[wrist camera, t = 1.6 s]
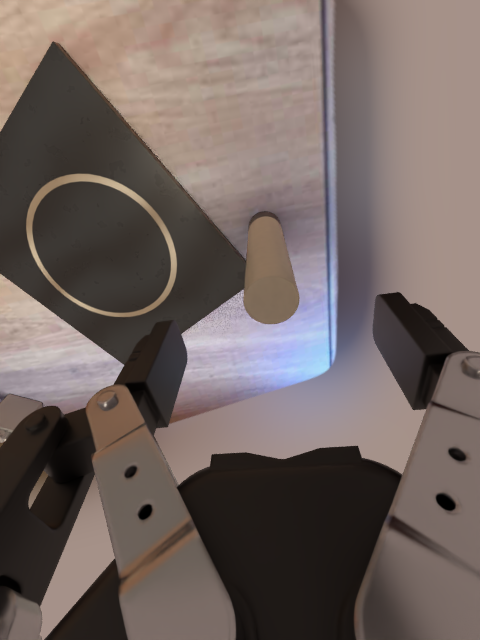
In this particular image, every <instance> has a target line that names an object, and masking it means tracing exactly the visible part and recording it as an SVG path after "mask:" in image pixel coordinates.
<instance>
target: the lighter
mask: <svg viewBox="0 0 480 640" xmlns="http://www.w3.org/2000/svg"><path fill="white" fill-rule="evenodd" d="M40 408H42V403H41V402H39V401H35V400H31V399H27V398H23V397H20V396H16V395H12V394H8V395H7V396H6V397H5V398H4V399H3V401H2V402H1V403H0V442H1V443H3V442H4V441H6V439H7V438H8V437H9V435H10V434H11V433H12V431H13V430H14V429H15V428H16V426H17V425H18V424H19V423H20V422H21V421H22V420H23V419H24V418H25V417H26V416H28V415H29V414H31V413H32V412H34V411H36V410H38V409H40Z"/></svg>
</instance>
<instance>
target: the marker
mask: <svg viewBox="0 0 480 640" xmlns="http://www.w3.org/2000/svg"><path fill="white" fill-rule="evenodd" d="M243 302H244V307H245V309H246V311H247V313H248V314H249V315H250V316H251V317H252V318H253V319H254V320H256V321H258V322H260V323H264V324H277V323H281V322H283V321H285V320H287V319H289V318H290V317H291V316H292V315H293V314H294V313H295V311H296V310H297V308H298V305H299V293H298V289H297V285H296V281H295V277H294V274H293V270H292V266H291V262H290V258H289V254H288V251H287V247H286V243H285V239H284V235H283V232H282V228H281V224H280V221H279V219H278V217H277V216H276V215H275V214H273V213H271V212H266V211H264V212H260V213H257V214H256V215H255V216H253V218H252V219H251V221H250V223H249V230H248V244H247V258H246V272H245V286H244V301H243Z"/></svg>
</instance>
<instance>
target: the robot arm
mask: <svg viewBox="0 0 480 640" xmlns="http://www.w3.org/2000/svg"><path fill="white" fill-rule="evenodd" d="M373 337H374V341H375V344H376V345H377V347H378V349H379V351H380V352H381V354H382V356H383V358H384V360H385V361H386V363H387V365H388V367H389V368H390V370H391V372H392V374H393V376H394V377H395V379H396V381H397V383H398V384H399V386H400V388H401V390H402V391H403V393H404V395H405V397H406V398H407V400H408V402H409V404H410V405H411V407H412V409H413V410H421V409H426V412H425V414H424V417H423V420H422V423H421V425H420V428H419V431H418V434H417V436H416V439H415V442H414V445H413V447H412V450H411V453H410V456H409V458H408V461H407V464H406V467H405V469H404V472H403V475H402V474H401V473H399V472H398V471H396V470H394V469H392V468H390V467H388V466H386V465H383V464H381V463H378V462H376V461H372V460H369V459H365V458H362V457H361V454H360V451H359V448H358V446H347V447H329V448H319V449H316V450H313V451H309V452H306V453H303V454H300V455H297V456H293V457H290V458H287V459H277V458H272V457H266V456H261V455H256V454H251V453H230V454H229V453H228V454H214V455H213V454H212V456H211V464H210V467H207V468H204V469H202V470H200V471H198V472H196V473H194V474H193V475H191V476H190V477H188V478H187V479H186V480H184V481H183V482H182V483H181V484H180V485H179V484H178V482H177V480H176V478H175V477H174V475H173V473H172V470H171V468H170V467H169V465H168V463H167V461H166V459H165V457H164V455H163V453H162V451H161V449H160V447H159V445H158V443H157V441H156V439H155V437H154V433H155V430H156V428H162V427H168V425H169V421H170V418H171V414H172V411H173V408H174V404H175V401H176V398H177V394H178V391H179V388H180V384H181V381H182V377H183V374H184V371H185V367H186V364H187V350H186V347H185V344H184V341H183V338H182V335H181V333H180V330H179V327H178V324H177V322H176V321H175V320H169V321H161V322H156V323H155V325H154V327H153V329H152V331H151V333H150V335H145V336H144V337H143V338H142V339H141V340H140V341H139V342H138V343H137V344H136V346H135V348H134V349H133V351H132V354H131V355H130V356H129V358H128V361H127V362H126V364H125V365H124V367H123V369H122V371H121V372H120V374H119V376H118V378H117V380H116V381H115V383H114V385H111V386H108V387H106V388H104V389H102V390H100V391H99V392H97V393H96V394H95V395H94V396H93V397H92V398H91V399H90V400H89V402H88V403H87V406H86V408H83V409H80V410H77V411H74V412H71V413H68V414H65V415H64V414H63V413H62V411H61V410H60V409H59V408H58V407H56V406H46V407H43V408H40V409H38V410H36V411H34V412H32V413H31V414H29V415H28V416H26V417H25V418H24V419H23V420H22V421H21V422H20V423H19V424H18V425H17V426H16V428H15V429H14V430H13V431H12V433H11V434H10V435H9V437H8V438H7V439H6V441H5V442H4V443H3V445H2V446H1V447H0V640H42V638H41V636H40V631H41V626H42V612H41V609H40V605H41V603H42V600H43V598H44V595H45V593H46V591H47V588H48V586H49V583H50V581H51V579H52V576H53V574H54V571H55V569H56V567H57V564H58V562H59V559H60V557H61V555H62V552H63V550H64V547H65V545H66V543H67V540H68V538H69V535H70V533H71V531H72V528H73V526H74V523H75V521H76V518H77V516H78V514H79V511H80V509H81V506H82V504H83V502H84V499H85V497H86V494H87V492H88V489H89V487H90V485H91V482H92V480H93V477H94V475H95V476H96V480H97V484H98V489H99V493H100V497H101V502H102V505H103V510H104V514H105V518H106V522H107V527H108V531H109V535H110V539H111V543H112V547H113V552H114V556H115V559H114V560H113V561H112V562H111V563H110V564H109V566H108V567H107V568H106V569H105V570H104V571H103V572H102V574H101V575H100V576H99V577H98V578H97V579H96V581H95V582H94V583H93V584H92V585H91V586H90V587H89V589H88V590H87V591H86V592H85V593H84V595H83V596H82V597H81V598H80V599H79V600H78V601H77V603H76V604H75V605H74V606H73V607H72V608H71V609H70V611H69V612H68V613H67V614H66V615H65V616H64V618H63V619H62V620H61V621H60V622H59V623H58V625H57V626H56V627H55V628H54V629H53V630H52V631H51V633H50V634H49V635H48V636H47V637H46V638H45V639H44V640H480V353H478V352H473V351H469V350H468V349H467V348H465V346H464V345H463V344H462V343H461V342H460V341H459V340H458V339H457V338H456V337H455V336H454V335H453V334H452V333H451V332H450V331H449V330H448V329H447V328H446V327H444V325H443V324H442V323H441V322H440V321H439V320H437V317H436V316H435V315H434V314H432V312H431V311H430V310H428V309H426V308H424V307H422V306H420V305H418V304H416V303H414V304H410V303H409V302H408V301H407V300H406V299H405V297H404V296H403V295H402V294H401V293H399V292H397V293H389V294H381V295H377V296H376V299H375V308H374V320H373ZM43 470H44V471H45V472H46V473H47V474H48V477H47V479H46V481H45V483H44V485H43V486H42V488H41V490H40V492H39V494H38V495H37V497H36V499H35V501H34V503H33V504H32V506H31V508H30V510H29V507H28V500H29V496H30V493H31V491H32V489H33V488H34V486H35V484H36V482H37V481H38V479H39V477H40V475H41V474H42V472H43Z"/></svg>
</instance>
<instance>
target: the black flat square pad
mask: <svg viewBox="0 0 480 640" xmlns="http://www.w3.org/2000/svg"><path fill="white" fill-rule="evenodd" d="M245 272H246V261H245V260H244V259H243V258H242V256H241V255H240V254H239V253H238V252H237V251H236V249H235V248H234V247H233V246H232V245H231V244H230V242H229V241H228V240H227V239H226V238H225V237H224V235H223V234H222V233H221V232H220V231H219V230H218V228H217V227H216V226H215V225H214V224H213V223H212V221H211V220H210V219H209V218H208V217H207V216H206V215H205V213H204V212H203V211H202V210H201V209H200V208H199V206H198V205H197V204H196V203H195V202H194V201H193V199H192V198H191V197H190V196H189V195H188V194H187V192H186V191H185V190H184V189H183V188H182V187H181V185H180V184H179V183H178V182H177V181H176V180H175V178H174V177H173V176H172V175H171V174H170V173H169V171H168V170H167V169H166V168H165V167H164V166H163V165H162V163H161V162H160V161H159V160H158V159H157V158H156V156H155V155H154V154H153V153H152V152H151V151H150V149H149V148H148V147H147V146H146V145H145V144H144V142H143V141H142V140H141V139H140V138H139V137H138V135H137V134H136V133H135V132H134V131H133V130H132V128H131V127H130V126H129V125H128V124H127V123H126V122H125V120H124V119H123V118H122V117H121V116H120V115H119V113H118V112H117V111H116V110H115V109H114V108H113V106H112V105H111V104H110V103H109V102H108V101H107V99H106V98H105V97H104V96H103V95H102V94H101V92H100V91H99V90H98V89H97V88H96V87H95V85H94V84H93V83H92V82H91V81H90V80H89V78H88V77H87V76H86V75H85V74H84V73H83V72H82V70H81V69H80V68H79V67H78V66H77V65H76V63H75V62H74V61H73V60H72V59H71V58H70V56H69V55H68V54H67V53H66V52H65V51H64V49H63V48H62V47H61V46H60V45H59V44H58V43H56V42H52V44H51V46H50V47H49V49H48V51H47V52H46V54H45V56H44V58H43V59H42V61H41V63H40V65H39V66H38V68H37V70H36V71H35V73H34V75H33V77H32V78H31V80H30V82H29V84H28V85H27V87H26V89H25V90H24V92H23V94H22V96H21V97H20V99H19V101H18V103H17V104H16V106H15V108H14V109H13V111H12V113H11V115H10V116H9V118H8V120H7V122H6V123H5V125H4V127H3V128H2V130H1V132H0V274H2V275H3V276H4V277H6V278H7V279H8V280H10V281H11V282H13V283H14V284H15V285H17V286H18V287H19V288H21V289H22V290H23V291H25V292H26V293H27V294H29V295H30V296H32V297H33V298H34V299H36V300H37V301H38V302H40V303H41V304H42V305H44V306H45V307H46V308H48V309H49V310H51V311H52V312H53V313H55V314H56V315H57V316H59V317H60V318H61V319H63V320H64V321H65V322H67V323H68V324H69V325H71V326H72V327H74V328H75V329H76V330H78V331H79V332H80V333H82V334H83V335H84V336H86V337H87V338H88V339H90V340H91V341H93V342H94V343H95V344H97V345H98V346H99V347H101V348H102V349H103V350H105V351H106V352H107V353H109V354H110V355H112V356H113V357H114V358H116V359H117V360H118V361H120V362H121V363H122V364H124V365H125V364H126V362H127V361H128V358H129V356H130V355H131V354H132V351H133V349H134V348H135V346H136V344H137V343H138V342H139V341H140V340H141V339H142V338H143V337H144V336H145V335H150V333H151V331H152V329H153V327H154V325H155V323H156V322H161V321H169V320H175V321H176V322H177V324H178V327H179V330H180V333H181V334H182V333H183V332H185V331H186V330H187V329H189V328H190V327H191V326H193V325H194V324H196V323H197V322H198V321H200V320H201V319H203V318H204V317H205V316H207V315H208V314H209V313H211V312H212V311H214V310H215V309H216V308H218V307H219V306H221V305H222V304H223V303H225V302H226V301H227V300H229V299H230V298H232V297H233V296H234V295H236V294H237V293H239V292H240V291H241V290H243V289H244V286H245Z"/></svg>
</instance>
